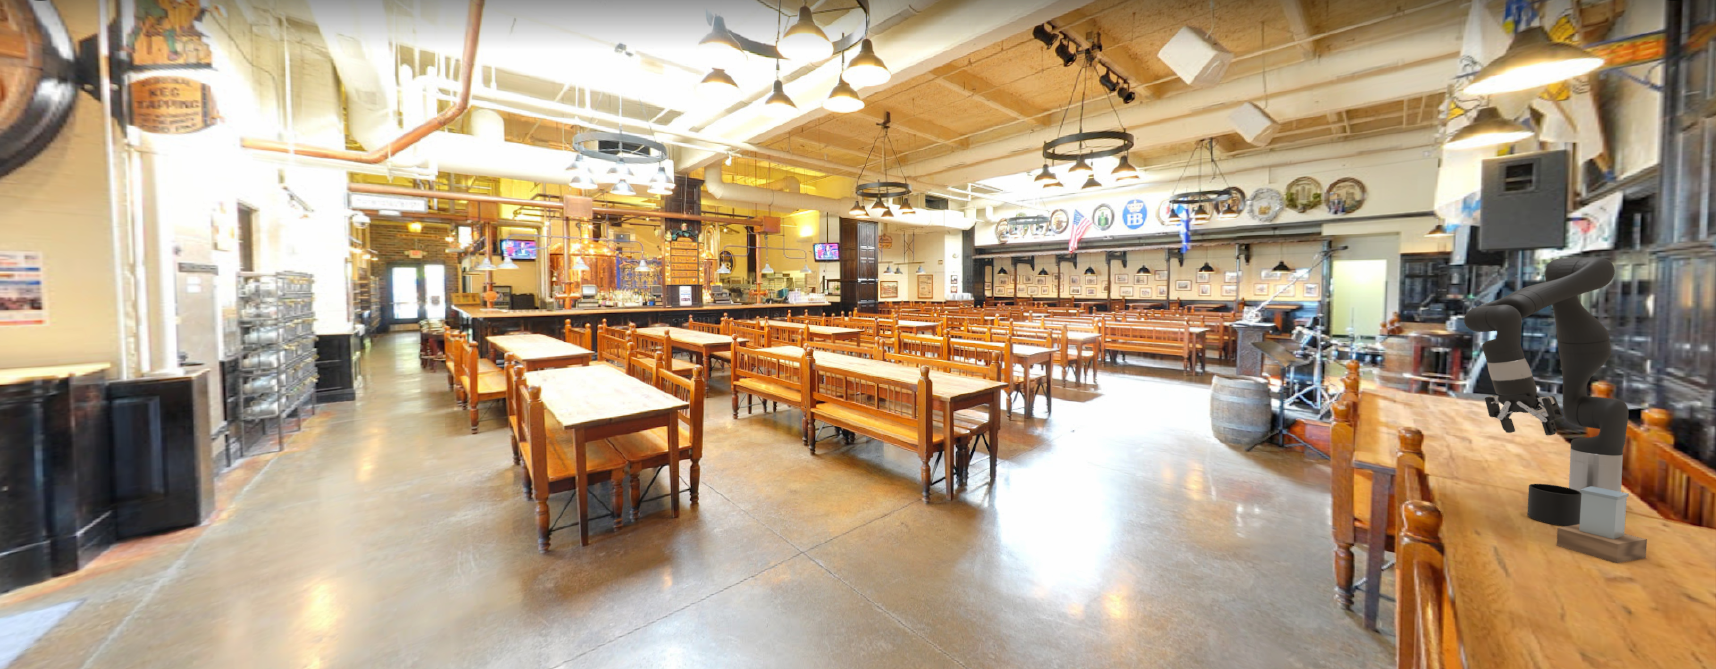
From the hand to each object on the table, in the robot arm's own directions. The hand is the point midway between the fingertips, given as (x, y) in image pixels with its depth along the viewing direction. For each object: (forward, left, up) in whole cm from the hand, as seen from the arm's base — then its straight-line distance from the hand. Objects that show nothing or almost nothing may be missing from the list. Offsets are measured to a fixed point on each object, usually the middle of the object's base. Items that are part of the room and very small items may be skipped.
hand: (1530, 433), depth 152 cm
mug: (-13, +2, -26) cm, 30 cm away
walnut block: (+7, +14, -27) cm, 31 cm away
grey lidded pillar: (+6, +14, -22) cm, 26 cm away
